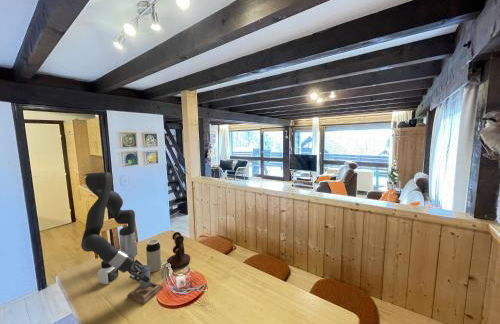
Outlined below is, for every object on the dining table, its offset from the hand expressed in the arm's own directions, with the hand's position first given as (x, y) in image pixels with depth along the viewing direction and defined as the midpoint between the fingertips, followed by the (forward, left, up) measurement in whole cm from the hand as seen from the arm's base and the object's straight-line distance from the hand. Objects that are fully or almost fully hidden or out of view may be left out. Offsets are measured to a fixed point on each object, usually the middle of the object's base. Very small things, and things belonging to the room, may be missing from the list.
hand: (148, 277), depth 111 cm
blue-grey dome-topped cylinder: (+1, -1, -4) cm, 5 cm away
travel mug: (-17, -14, -8) cm, 24 cm away
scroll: (-28, -4, -8) cm, 29 cm away
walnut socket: (+1, -1, -8) cm, 8 cm away
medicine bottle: (+1, -30, -8) cm, 32 cm away
